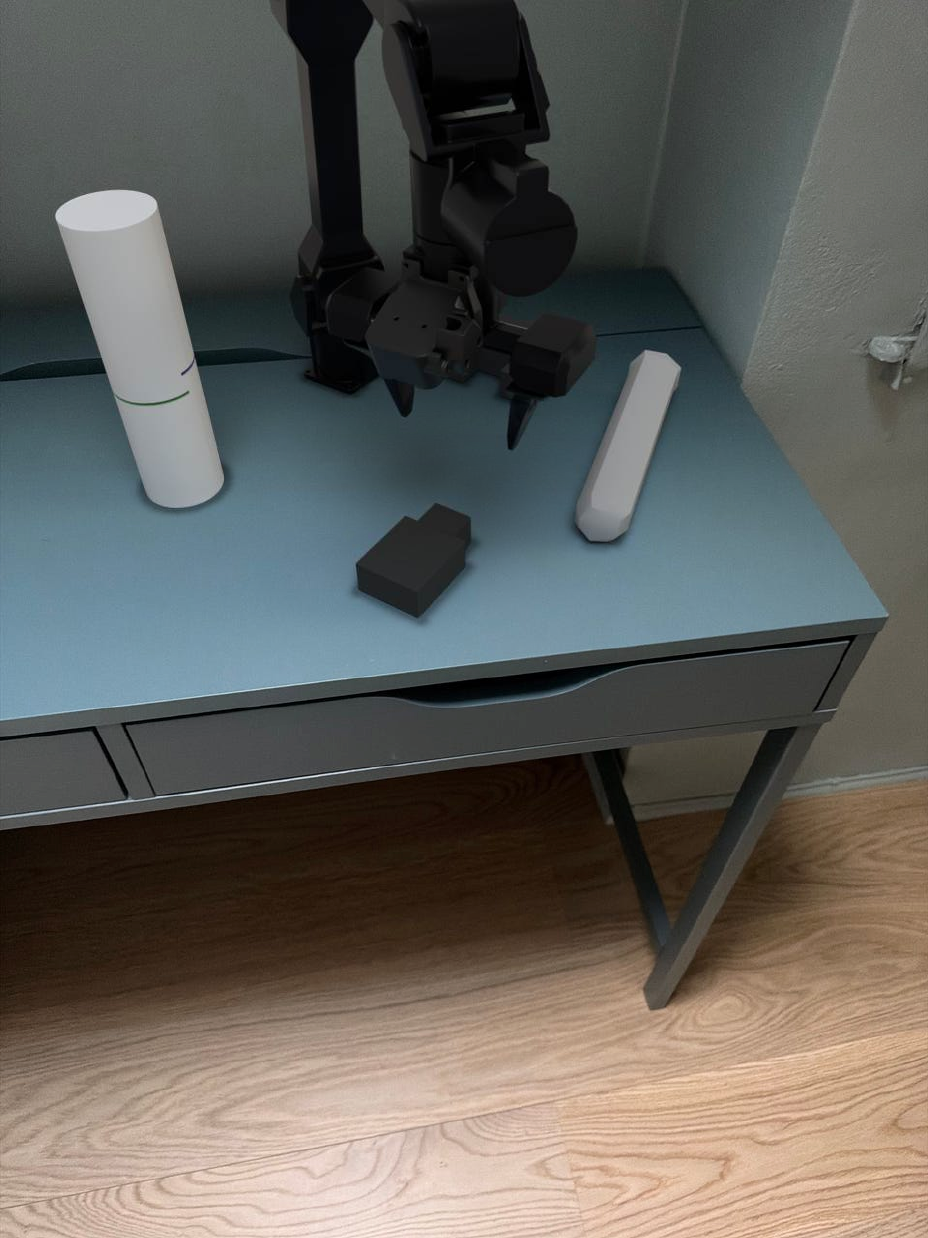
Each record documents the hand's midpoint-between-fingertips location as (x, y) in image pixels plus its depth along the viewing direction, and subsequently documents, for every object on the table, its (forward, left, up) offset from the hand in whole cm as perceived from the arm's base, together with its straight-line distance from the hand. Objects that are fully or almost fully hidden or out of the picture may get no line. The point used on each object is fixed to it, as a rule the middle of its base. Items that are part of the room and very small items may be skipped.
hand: (458, 430), depth 69 cm
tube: (+5, +17, -10) cm, 20 cm away
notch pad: (-11, +27, -12) cm, 31 cm away
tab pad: (-1, -4, -12) cm, 13 cm away
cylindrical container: (-26, -6, -12) cm, 30 cm away
